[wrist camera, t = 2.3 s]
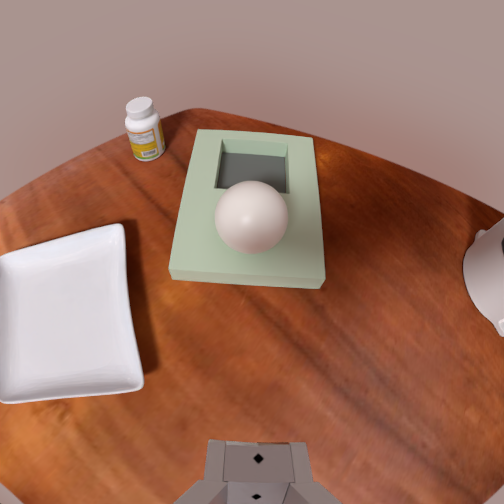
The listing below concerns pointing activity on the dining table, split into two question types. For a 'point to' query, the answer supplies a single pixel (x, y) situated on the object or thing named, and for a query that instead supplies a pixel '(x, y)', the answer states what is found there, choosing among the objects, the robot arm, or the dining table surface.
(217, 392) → the dining table surface
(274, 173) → the putting deck
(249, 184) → the ball
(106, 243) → the salad plate
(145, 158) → the supplement bottle
